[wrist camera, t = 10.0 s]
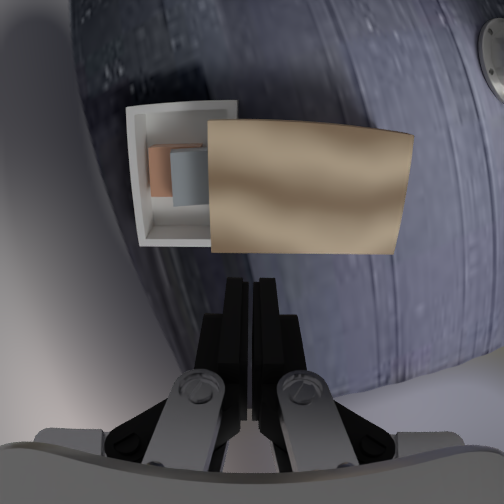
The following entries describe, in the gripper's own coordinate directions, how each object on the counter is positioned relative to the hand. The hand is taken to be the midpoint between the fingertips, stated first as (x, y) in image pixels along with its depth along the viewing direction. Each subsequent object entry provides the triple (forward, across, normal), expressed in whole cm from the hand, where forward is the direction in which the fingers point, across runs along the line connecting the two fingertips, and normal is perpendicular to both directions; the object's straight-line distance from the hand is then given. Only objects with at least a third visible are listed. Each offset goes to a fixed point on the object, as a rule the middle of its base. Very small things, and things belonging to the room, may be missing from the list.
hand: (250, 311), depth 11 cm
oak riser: (+23, -5, 0) cm, 23 cm away
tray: (+23, +6, 0) cm, 24 cm away
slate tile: (+18, +5, 0) cm, 19 cm away
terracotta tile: (+20, +7, 0) cm, 21 cm away
